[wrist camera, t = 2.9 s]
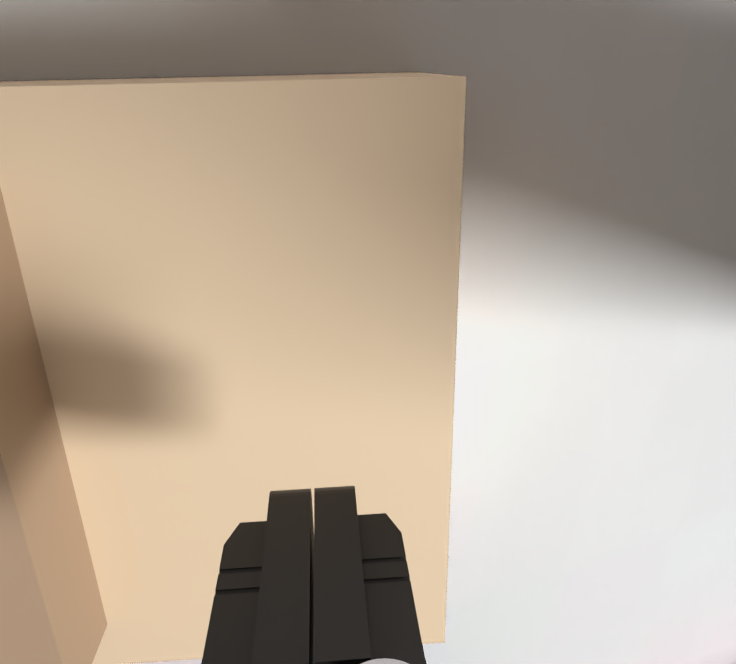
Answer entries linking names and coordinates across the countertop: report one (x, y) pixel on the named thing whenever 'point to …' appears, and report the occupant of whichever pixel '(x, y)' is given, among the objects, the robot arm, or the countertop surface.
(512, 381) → the countertop surface
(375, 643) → the robot arm
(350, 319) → the lid
